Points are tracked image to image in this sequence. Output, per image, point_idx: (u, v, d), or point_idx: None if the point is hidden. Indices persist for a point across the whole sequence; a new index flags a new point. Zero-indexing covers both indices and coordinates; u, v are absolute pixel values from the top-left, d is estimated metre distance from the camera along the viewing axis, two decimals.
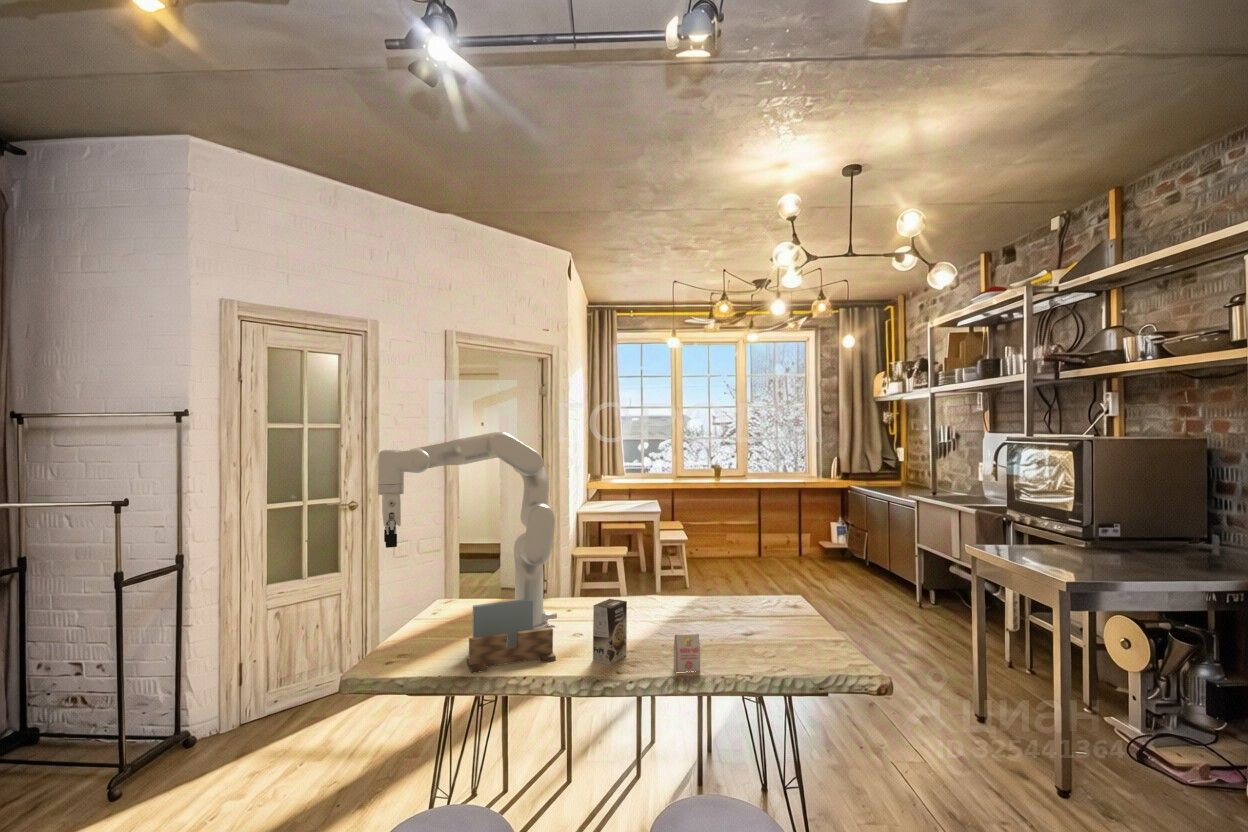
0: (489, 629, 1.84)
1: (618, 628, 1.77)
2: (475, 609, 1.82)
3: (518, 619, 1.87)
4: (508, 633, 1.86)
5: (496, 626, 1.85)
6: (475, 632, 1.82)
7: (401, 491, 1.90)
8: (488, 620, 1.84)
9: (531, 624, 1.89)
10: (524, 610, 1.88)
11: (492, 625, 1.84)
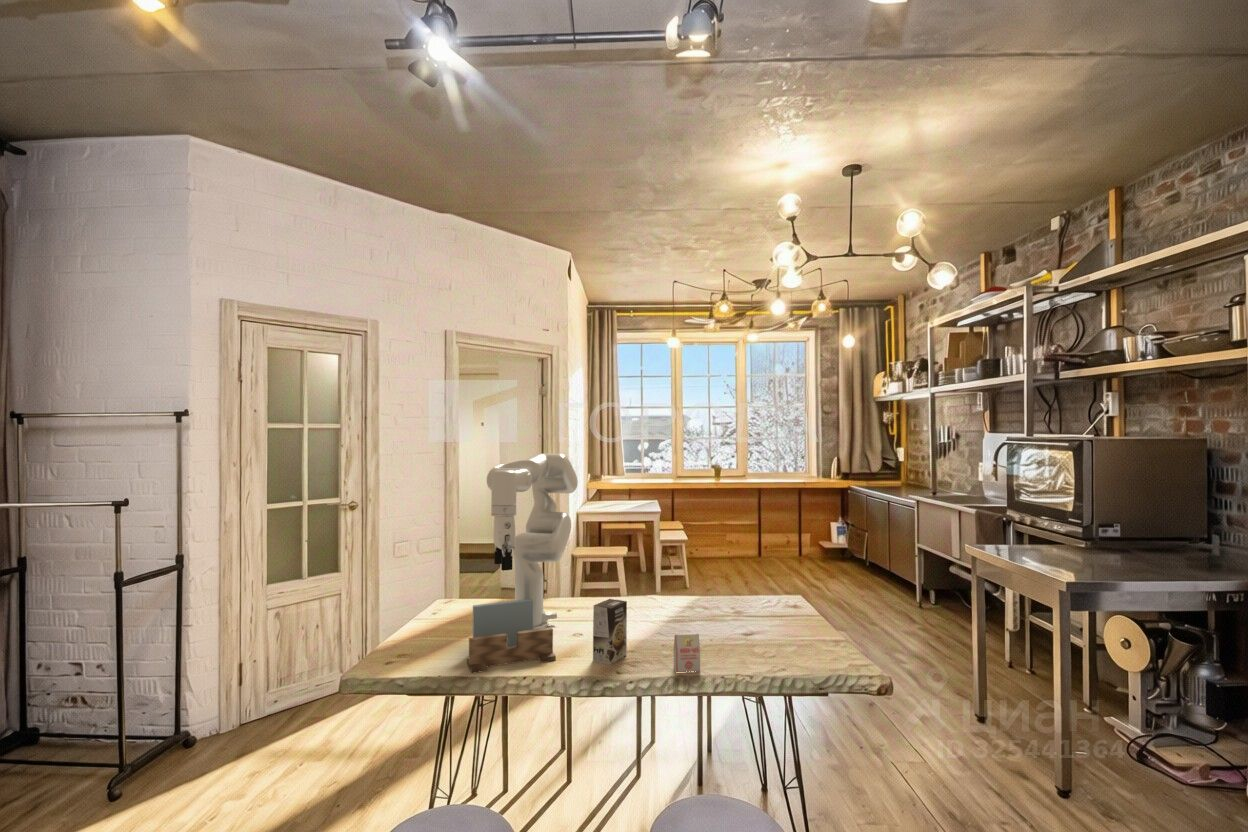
0: (489, 629, 1.84)
1: (618, 628, 1.77)
2: (475, 609, 1.82)
3: (518, 619, 1.87)
4: (508, 633, 1.86)
5: (496, 626, 1.85)
6: (475, 632, 1.82)
7: (515, 512, 1.86)
8: (488, 620, 1.84)
9: (531, 624, 1.89)
10: (524, 610, 1.88)
11: (492, 625, 1.84)
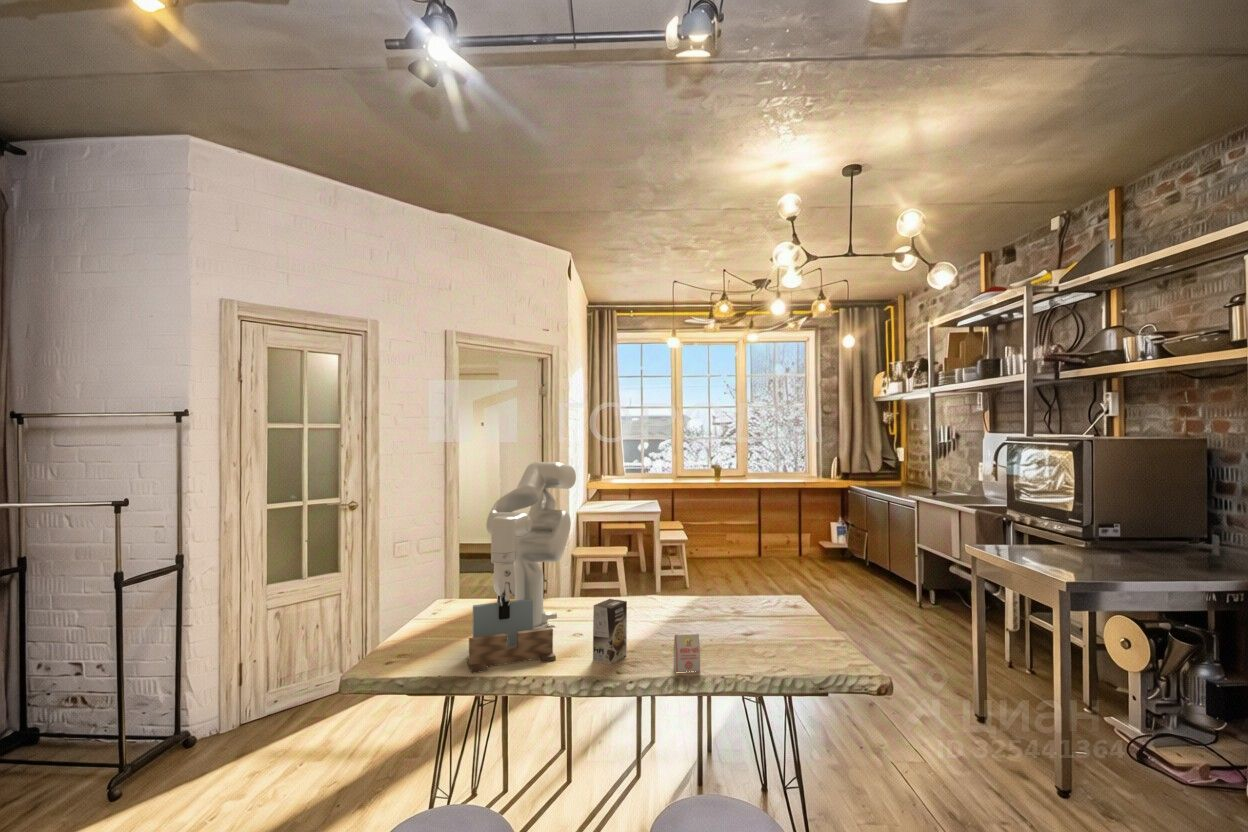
0: (489, 629, 1.84)
1: (618, 628, 1.77)
2: (475, 609, 1.82)
3: (518, 619, 1.87)
4: (508, 633, 1.86)
5: (496, 626, 1.85)
6: (475, 632, 1.82)
7: (514, 559, 1.86)
8: (488, 620, 1.84)
9: (531, 624, 1.89)
10: (524, 610, 1.88)
11: (492, 625, 1.84)
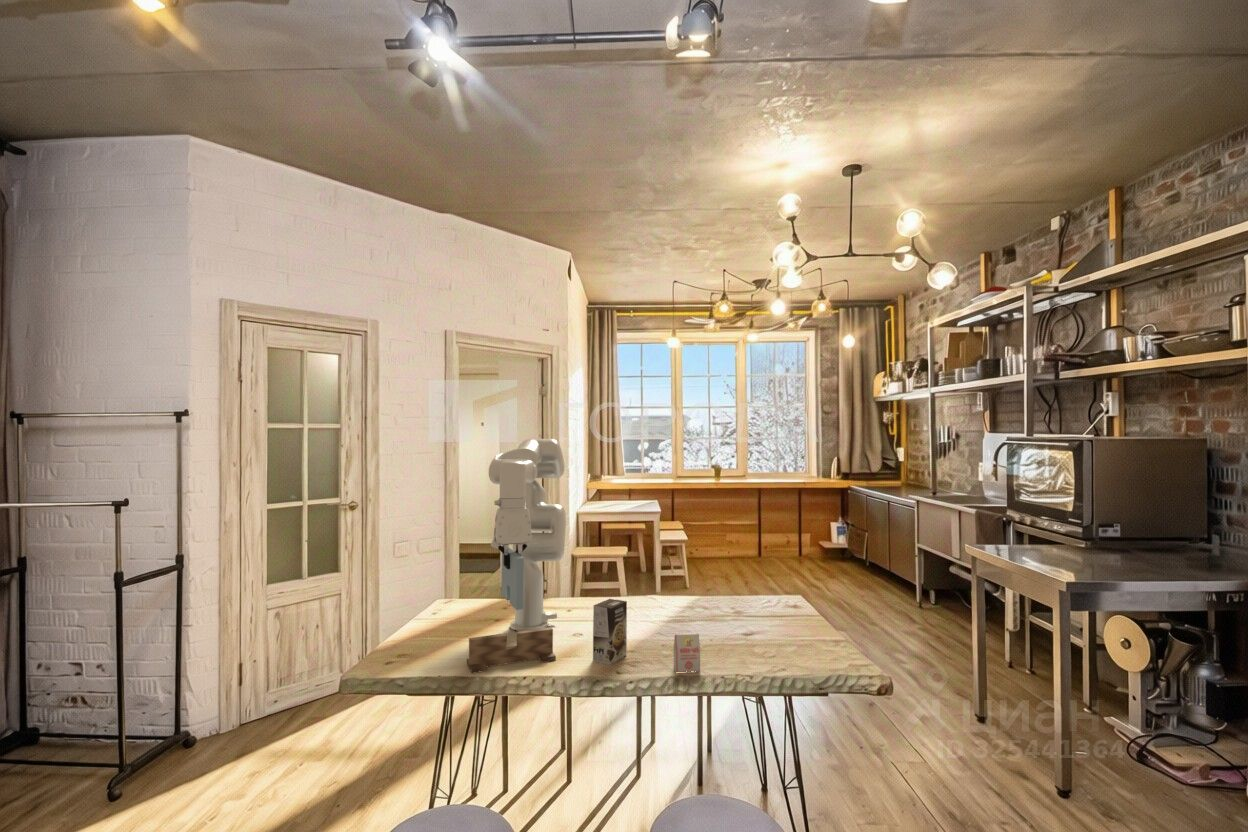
0: (505, 574, 1.80)
1: (618, 628, 1.77)
2: None
3: (512, 574, 1.72)
4: (509, 585, 1.75)
5: (506, 574, 1.78)
6: None
7: (507, 507, 1.74)
8: None
9: (515, 585, 1.68)
10: (514, 566, 1.70)
11: (505, 571, 1.79)
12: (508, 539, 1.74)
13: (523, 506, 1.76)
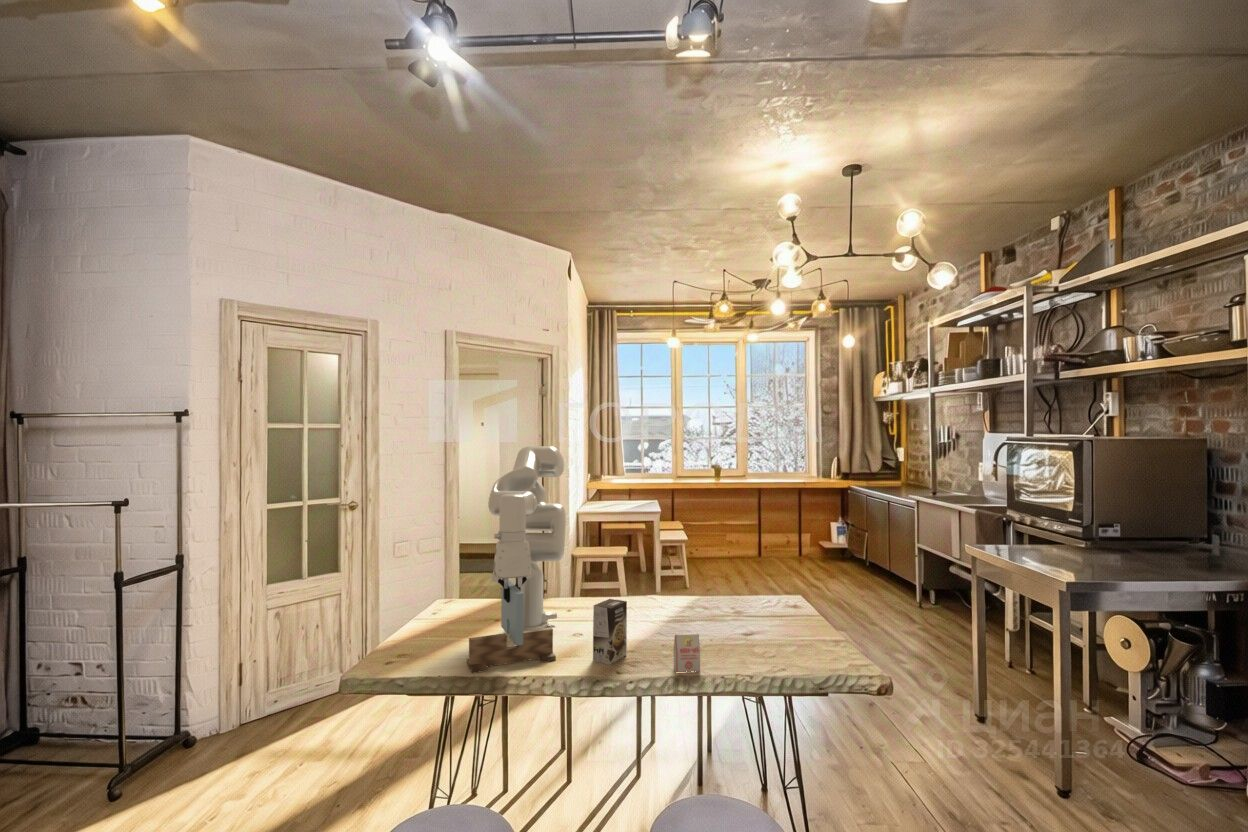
0: (504, 607, 1.80)
1: (618, 628, 1.77)
2: None
3: (512, 609, 1.72)
4: (509, 619, 1.75)
5: (506, 607, 1.78)
6: (501, 605, 1.84)
7: (507, 541, 1.73)
8: None
9: (515, 620, 1.68)
10: (513, 601, 1.70)
11: (505, 604, 1.79)
12: (507, 573, 1.73)
13: (523, 539, 1.76)
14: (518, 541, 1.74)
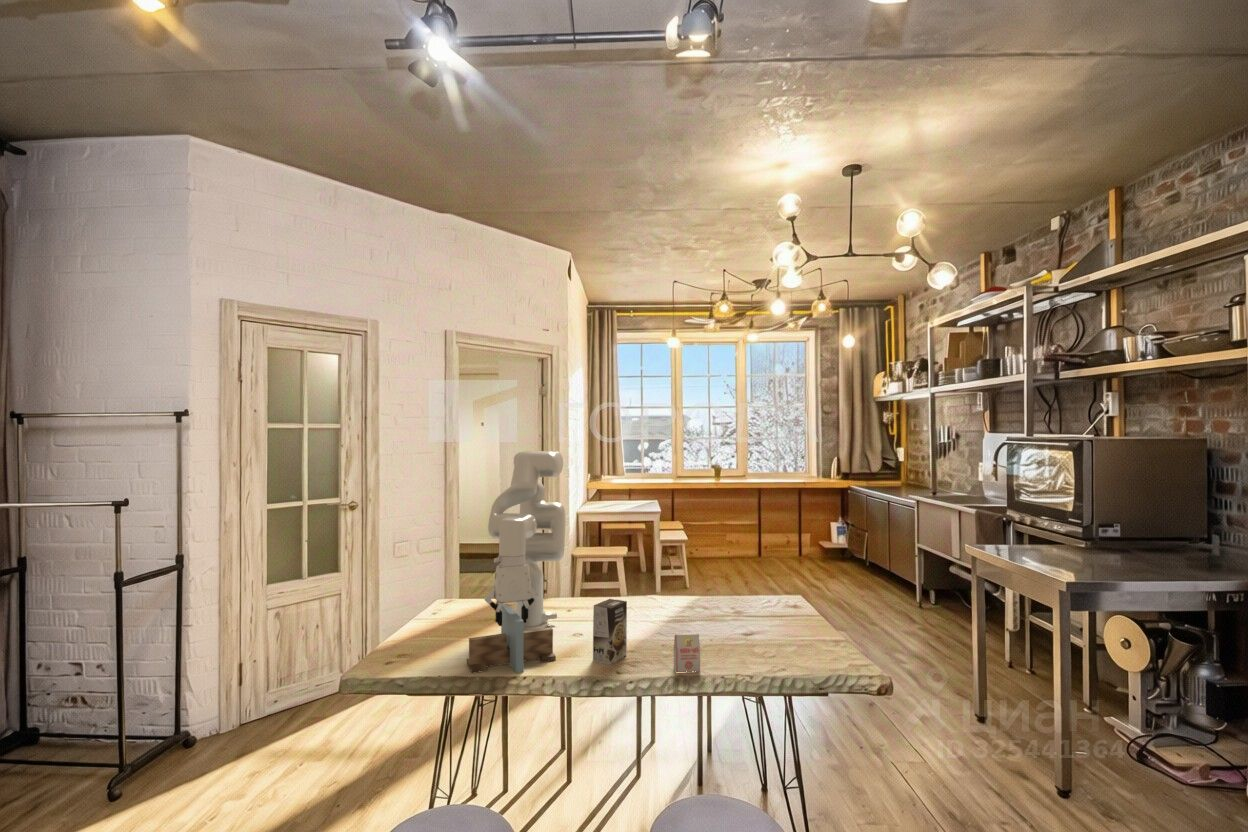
0: None
1: (618, 628, 1.77)
2: None
3: (512, 636, 1.72)
4: (509, 646, 1.75)
5: (506, 633, 1.78)
6: (501, 630, 1.84)
7: (507, 565, 1.73)
8: (504, 624, 1.80)
9: (515, 648, 1.68)
10: (514, 628, 1.70)
11: (505, 630, 1.79)
12: (507, 598, 1.73)
13: (523, 563, 1.75)
14: (518, 565, 1.74)
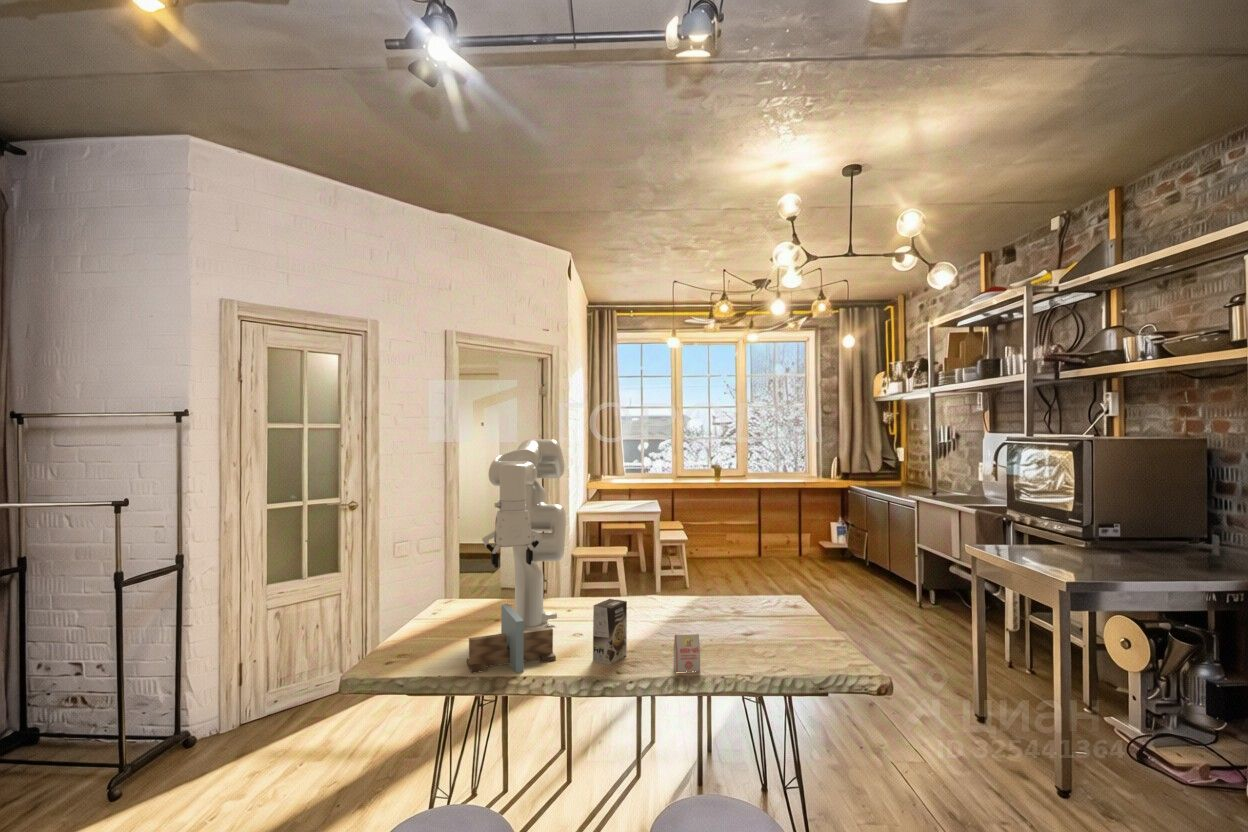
0: None
1: (618, 628, 1.77)
2: None
3: (512, 636, 1.72)
4: (509, 646, 1.75)
5: (506, 633, 1.78)
6: (501, 630, 1.84)
7: (507, 509, 1.74)
8: (504, 624, 1.80)
9: (516, 648, 1.68)
10: (514, 628, 1.70)
11: (505, 630, 1.79)
12: (508, 542, 1.74)
13: (523, 508, 1.76)
14: (518, 510, 1.74)
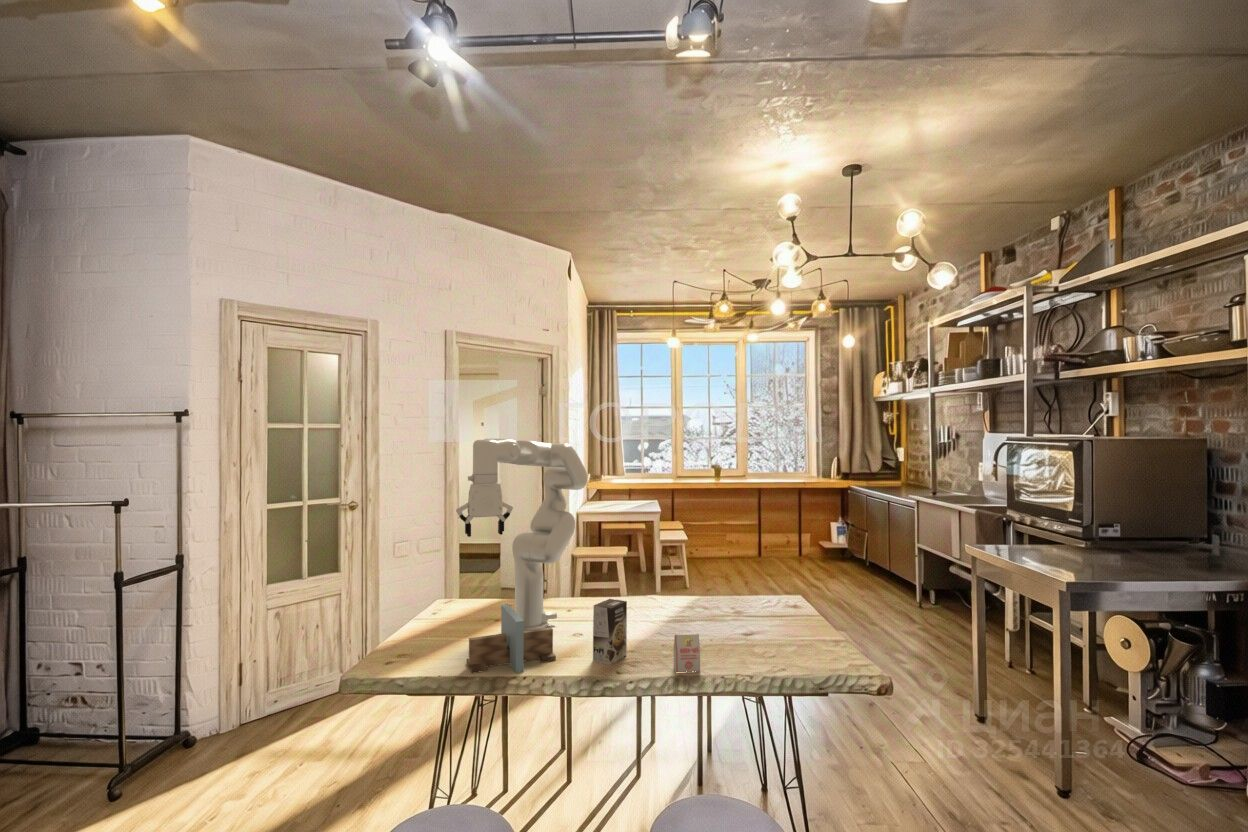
0: None
1: (618, 628, 1.77)
2: (501, 607, 1.84)
3: (512, 636, 1.72)
4: (509, 646, 1.75)
5: (506, 633, 1.78)
6: (501, 630, 1.84)
7: (479, 482, 1.86)
8: (504, 624, 1.80)
9: (515, 648, 1.68)
10: (514, 628, 1.70)
11: (505, 630, 1.79)
12: (480, 512, 1.86)
13: (495, 481, 1.88)
14: (490, 483, 1.86)
